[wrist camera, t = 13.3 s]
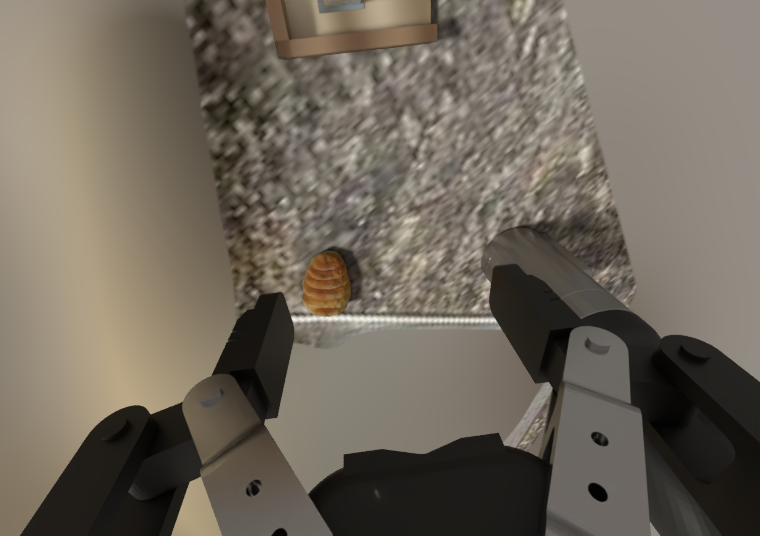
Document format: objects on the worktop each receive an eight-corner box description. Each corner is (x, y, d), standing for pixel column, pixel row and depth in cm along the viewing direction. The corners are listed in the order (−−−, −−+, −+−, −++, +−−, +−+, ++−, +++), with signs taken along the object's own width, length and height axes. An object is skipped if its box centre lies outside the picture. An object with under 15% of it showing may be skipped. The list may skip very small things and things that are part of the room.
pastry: (302, 246, 40) (299, 261, 37) (353, 248, 41) (354, 263, 38) (304, 302, 45) (301, 319, 42) (349, 302, 46) (350, 320, 43)
